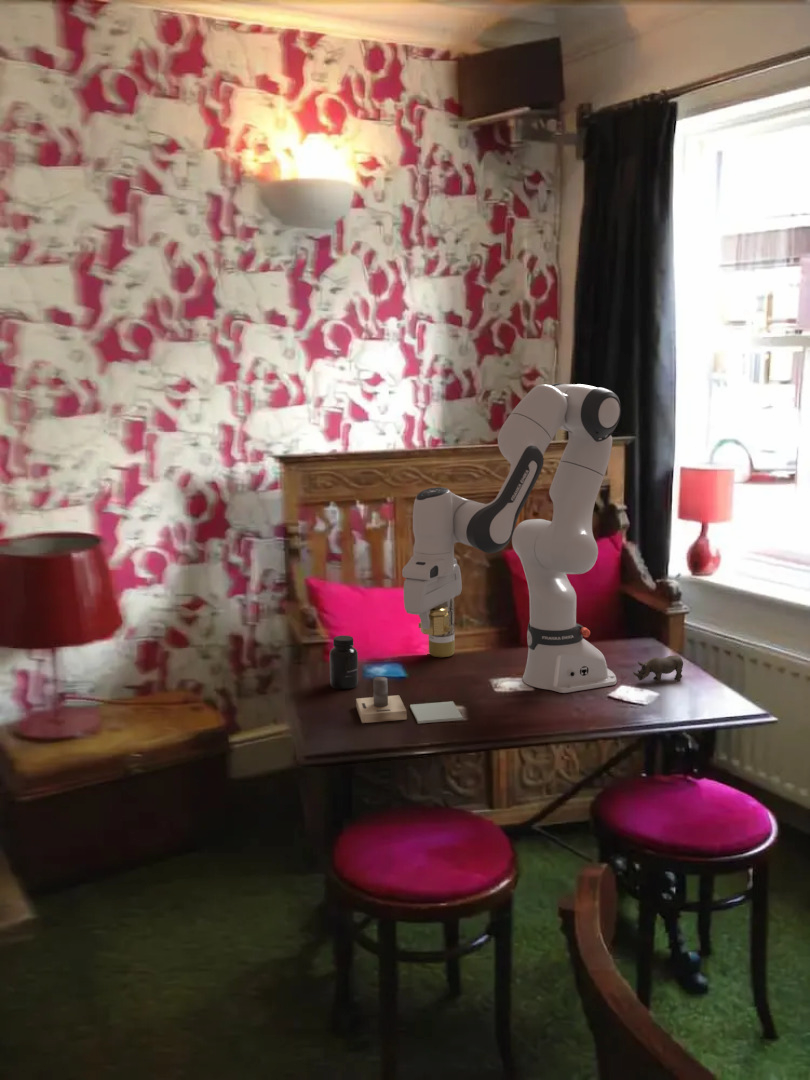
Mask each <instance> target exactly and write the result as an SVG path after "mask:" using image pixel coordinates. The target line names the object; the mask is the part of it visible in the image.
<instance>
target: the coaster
mask: <svg viewBox="0 0 810 1080" xmlns="http://www.w3.org/2000/svg"><path fill="white" fill-rule="evenodd" d="M409 708H410V710H411V712H412V714H413V716H414V719H415V720H416V722H417V725H418V724H427V723H441V722H452V721H453V722H455V721H463V719H464V718H463V716H462V714H461V712H460V710H459V709H458V708H457V705H456V703H455V702H454V701H453V700H452V701H451V700H450V701H441V702H429V703H416V704H415V703H413V704H410V705H409Z"/></svg>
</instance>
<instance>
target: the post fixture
mask: <svg viewBox="0 0 810 1080" xmlns="http://www.w3.org/2000/svg"><path fill="white" fill-rule="evenodd" d="M388 685H389V684H388V678H387V677H385V676H376V677H374V678H373V679H372V687H373V689H372V691H373V696H372V697H370V696H369V697H361V698H360V697H359V698H357V697H356V698H355V704H356V705H355V708H356V710H357V713H358V716H359V719H360V722H361V723H362V724H365V723H366V724H368V723H381V722H390V721H403V720H407V719H408V716H407V715H408V713H407V712H408V711H407V709H406V707H405V705H404V702H403V701H402V699H401V697H400V695H398V694H397V695H388V693H389V692H388V691H389V690H388Z"/></svg>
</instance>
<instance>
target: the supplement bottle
mask: <svg viewBox="0 0 810 1080" xmlns="http://www.w3.org/2000/svg"><path fill="white" fill-rule="evenodd" d="M332 640H333V644H332V645H333V647H332V648H331V649H330V650H329V677H330V678H329V680H330V681H329V682H330V686H331V687H332V688H333V689H336V690H351V689H354V688H356V687H357V686H358V685H359V662H358V661H359V657H358V656H359V655H358V650H357V649H356V648H355V647H354V637H353V636H351V635H336V636H334V637H333V639H332Z"/></svg>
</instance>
